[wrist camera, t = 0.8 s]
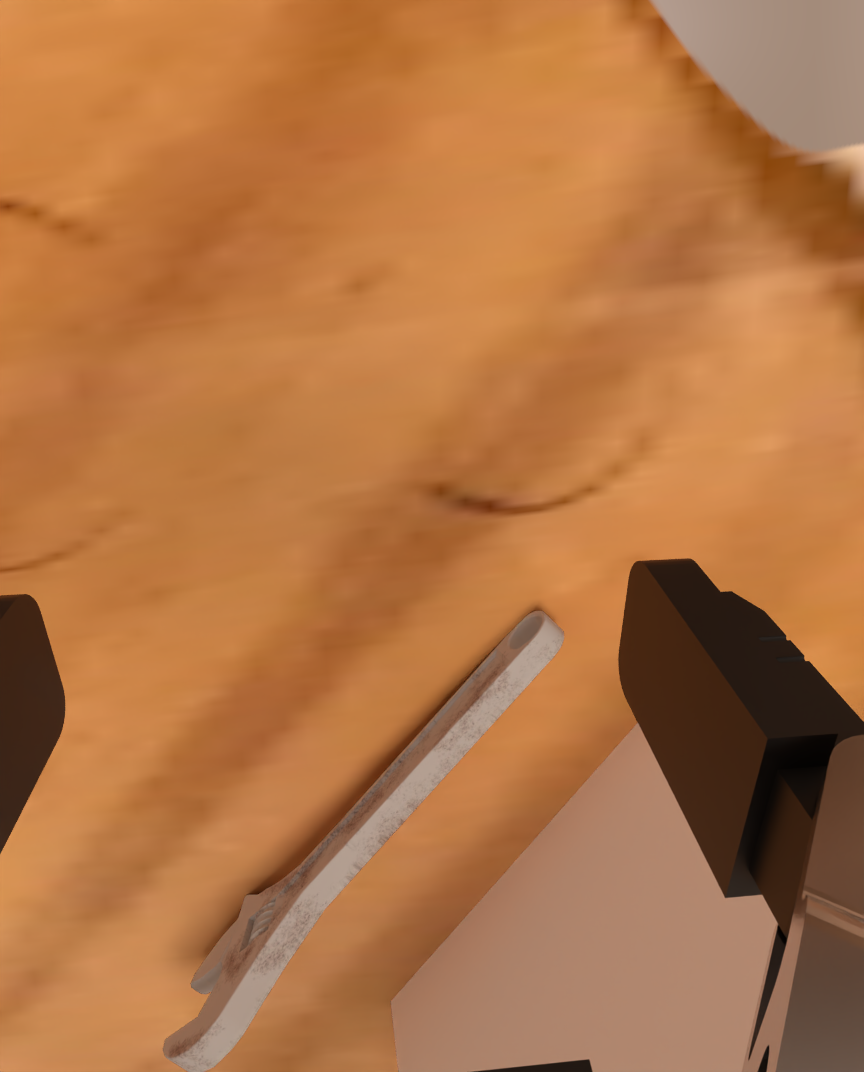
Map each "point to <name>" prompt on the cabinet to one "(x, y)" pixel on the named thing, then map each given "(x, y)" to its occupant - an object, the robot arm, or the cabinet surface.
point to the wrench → (349, 849)
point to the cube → (596, 947)
